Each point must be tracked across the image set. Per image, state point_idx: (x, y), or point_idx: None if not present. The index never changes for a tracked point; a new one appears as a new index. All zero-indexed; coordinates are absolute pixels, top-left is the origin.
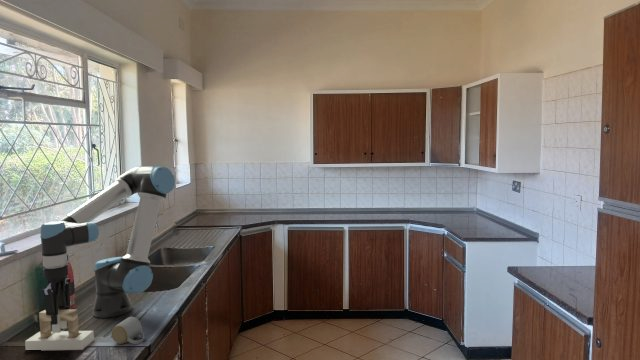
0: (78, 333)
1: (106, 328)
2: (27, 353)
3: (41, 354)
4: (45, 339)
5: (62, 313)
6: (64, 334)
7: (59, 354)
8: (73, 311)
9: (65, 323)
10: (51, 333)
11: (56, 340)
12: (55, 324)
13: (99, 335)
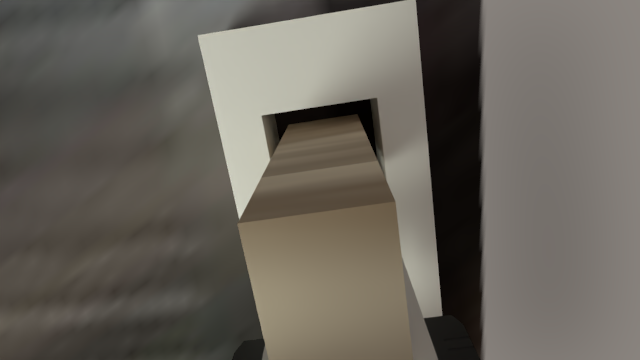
0: (289, 133)
1: (2, 84)
2: None
3: (482, 256)
4: None
5: (409, 352)
6: None
7: (482, 135)
8: (350, 217)
9: None
10: None
11: (434, 228)
12: (450, 319)
13: (135, 50)
